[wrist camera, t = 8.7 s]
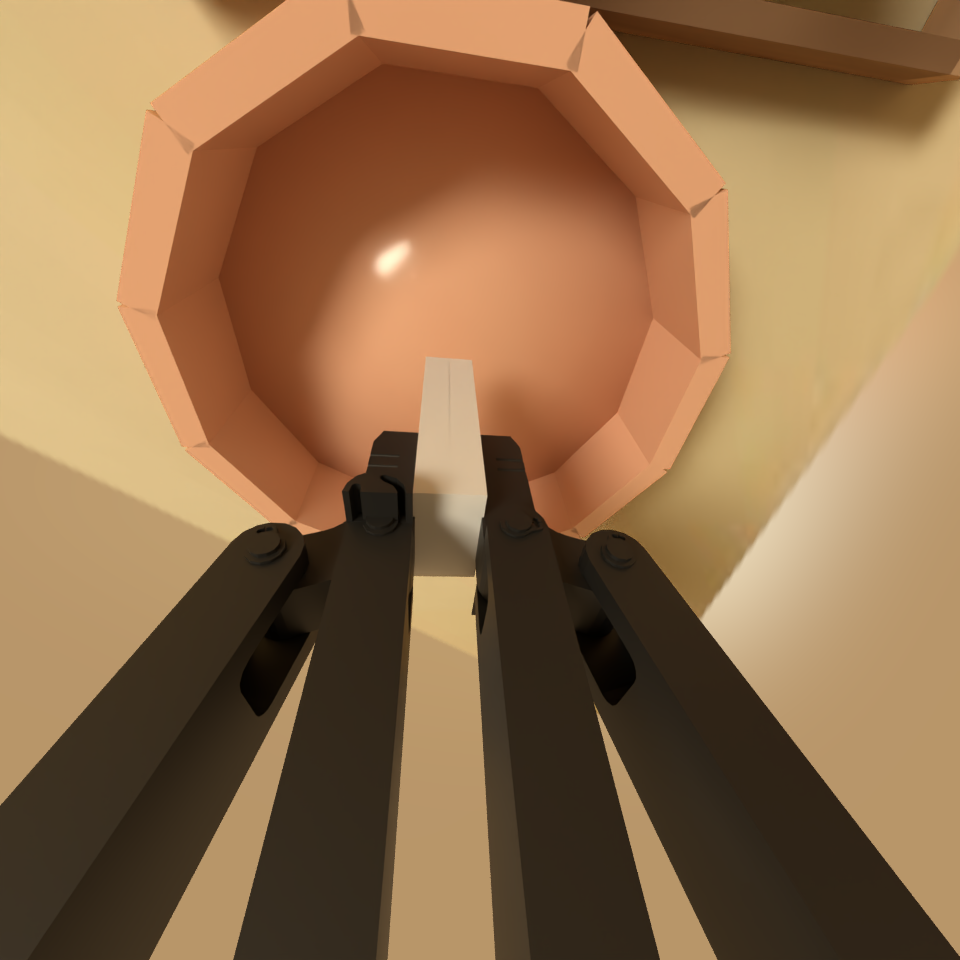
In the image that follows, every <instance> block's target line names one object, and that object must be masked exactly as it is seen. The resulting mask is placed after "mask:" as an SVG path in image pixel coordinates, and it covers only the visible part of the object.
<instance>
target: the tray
mask: <svg viewBox="0 0 960 960" xmlns="http://www.w3.org/2000/svg"><path fill="white" fill-rule="evenodd" d="M559 1H565V2H570V3H575V4H581V5H586V6H590V9H589V14H588V18H589V17H591V16H592V15H593V14H594V13H595V12H597V11H598V13H599V14H600V15H601V17H602V18H603V19H604V21H605V22H606V23H607V25H608V26H609V27H610V29H611V30H612V31H617V32H622V33H628V34H633V35H639V36H644V37H650V38H655V39H661V40H666V41H672V42H677V43H683V44H688V45H694V46H699V47H705V48H710V49H716V50H722V51H727V52H733V53H738V54H744V55H749V56H755V57H760V58H766V59H771V60H777V61H782V62H788V63H793V64H799V65H804V66H810V67H815V68H821V69H826V70H832V71H837V72H843V73H848V74H854V75H859V76H865V77H870V78H876V79H881V80H887V81H892V82H898V83H904V84H909V85H913V84H922V83H931V82H939V81H948V80H957V79H960V0H938V2H937V4H936V5H935V7H934V9H933V11H932V13H931V15H930V16H929V18H928V20H927V22H926V24H925V25H924V27H923V29H922V31H921V32H918V31H913V30H908V29H903V28H898V27H893V26H888V25H883V24H878V23H873V22H868V21H863V20H858V19H853V18H848V17H843V16H838V15H833V14H828V13H823V12H818V11H813V10H808V9H803V8H798V7H793V6H788V5H783V4H778V3H773V2H768V1H763V0H559Z"/></svg>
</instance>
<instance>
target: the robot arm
mask: <svg viewBox="0 0 960 960" xmlns="http://www.w3.org/2000/svg"><path fill="white" fill-rule="evenodd" d="M342 496H343V502H344V509H345V515H346V521H345V522H343V523H342V524H340V525H338V526H336V527H334V528H331V529H327V530H324V531H320V532H315V533H310V534H306V535H302V533H301V532H300V531H299V530H298V529H297V528H296V527H294V526H291V525H289V524H286V523H267V524H262V525H257V526H255V527H253V528H251V529H249V530H246V531H244V532H243V533H241V534H240V535H239V536H238V537H237V538H236V539H234V540H233V541H232V542H231V543H230V544H229V545H228V547H227V548H226V549H225V550H224V551H223V552H222V554H221V555H220V556H219V557H218V558H217V559H216V560H215V561H214V563H213V564H212V565H211V566H210V567H209V568H208V569H207V571H206V572H205V573H204V574H203V575H202V576H201V578H200V579H199V580H198V581H197V582H196V583H195V584H194V585H193V587H192V588H191V589H190V590H189V591H188V592H187V593H186V595H185V596H184V597H183V598H182V599H181V600H180V601H179V603H178V604H177V605H176V606H175V607H174V608H173V609H172V611H171V612H170V613H169V614H168V615H167V616H166V617H165V619H164V620H163V621H162V622H161V623H160V625H158V626H157V628H156V629H155V630H154V631H153V632H152V633H151V634H150V636H149V637H148V638H147V639H146V640H145V641H144V642H143V644H142V645H141V646H140V647H139V648H138V649H137V650H136V652H135V653H134V654H133V655H132V656H131V657H130V658H129V660H128V661H127V662H126V663H125V664H124V665H123V666H122V668H121V669H120V670H119V671H118V672H117V673H116V675H115V676H114V677H113V678H112V679H111V680H110V681H109V683H107V685H106V686H105V687H104V688H103V689H102V690H101V691H100V693H99V694H98V695H97V696H96V697H95V698H94V699H93V701H92V702H91V703H90V704H89V705H88V706H87V708H86V709H85V710H84V711H83V712H82V713H81V714H80V715H79V717H78V718H77V719H76V720H75V721H74V722H73V723H72V725H71V726H70V727H69V728H68V729H67V730H66V731H65V733H64V734H63V735H62V736H61V737H60V738H59V739H58V741H57V742H56V743H55V744H54V745H53V746H52V747H51V749H50V750H49V751H48V752H47V753H46V754H45V755H44V756H43V758H42V759H41V760H40V761H39V762H38V763H37V764H36V766H35V767H34V768H33V769H32V770H31V771H30V773H29V774H28V775H27V776H26V777H25V778H24V779H23V780H22V782H21V783H20V784H19V785H18V786H17V787H16V788H15V790H14V791H13V792H12V793H11V794H10V795H9V796H8V798H7V799H6V800H5V801H4V802H3V803H2V804H1V806H0V960H149V959H150V957H151V955H152V953H153V951H154V949H155V947H156V945H157V943H158V941H159V939H160V938H161V936H162V934H163V932H164V930H165V928H166V926H167V924H168V922H169V920H170V918H171V917H172V915H173V912H174V911H175V909H176V907H177V905H178V903H179V901H180V899H181V898H182V895H183V894H184V892H185V890H186V888H187V886H188V884H189V882H190V880H191V878H192V876H193V874H194V873H195V871H196V869H197V867H198V865H199V863H200V861H201V859H202V857H203V856H204V854H205V852H206V850H207V848H208V846H209V844H210V842H211V840H212V838H213V836H214V834H215V832H216V831H217V829H218V827H219V825H220V823H221V821H222V819H223V817H224V815H225V813H226V812H227V809H228V808H229V806H230V804H231V802H232V800H233V798H234V796H235V794H236V792H237V790H238V789H239V787H240V785H241V783H242V781H243V779H244V777H245V775H246V773H247V771H248V770H249V768H250V766H251V764H252V762H253V760H254V758H255V756H256V754H257V752H258V750H259V748H260V746H261V745H262V743H263V741H264V739H265V737H266V735H267V733H268V731H269V729H270V728H271V725H272V724H273V722H274V720H275V718H276V716H277V714H278V712H279V710H280V708H281V707H282V705H283V703H284V701H285V699H286V697H287V695H288V693H289V691H290V689H291V687H292V686H293V684H294V682H295V680H296V678H297V676H298V674H299V672H300V670H301V668H302V666H303V664H304V662H305V661H306V659H307V657H308V655H309V653H310V651H311V649H312V647H313V645H314V643H315V646H314V650H313V653H312V657H311V661H310V665H309V669H308V673H307V676H306V680H305V684H304V688H303V692H302V696H301V700H300V704H299V708H298V712H297V716H296V719H295V723H294V727H293V731H292V735H291V739H290V743H289V746H288V750H287V754H286V758H285V762H284V766H283V769H282V773H281V777H280V781H279V785H278V789H277V793H276V797H275V800H274V804H273V808H272V812H271V816H270V820H269V824H268V827H267V831H266V835H265V840H264V843H263V847H262V851H261V855H260V859H259V862H258V866H257V870H256V874H255V878H254V882H253V886H252V889H251V893H250V897H249V902H248V905H247V909H246V913H245V917H244V921H243V924H242V928H241V932H240V936H239V940H238V944H237V948H236V951H235V955H234V959H233V960H387V958H388V943H389V929H390V915H391V900H392V886H393V873H394V859H395V858H394V857H395V844H396V829H397V816H398V802H399V787H400V773H401V758H402V745H403V730H404V717H405V703H406V688H407V674H408V660H409V646H410V645H409V644H410V631H411V618H412V603H413V577H414V576H460V577H474V575H475V569H476V578H477V586H476V592H475V597H474V603H473V609H472V615H476V630H477V647H478V663H479V681H480V699H481V716H482V734H483V751H484V768H485V785H486V803H487V820H488V838H489V854H490V872H491V887H492V888H491V889H492V906H493V922H494V941H495V958H496V960H660V958H659V954H658V950H657V946H656V942H655V938H654V935H653V931H652V927H651V923H650V919H649V915H648V911H647V907H646V903H645V900H644V896H643V892H642V888H641V884H640V880H639V877H638V872H637V869H636V865H635V861H634V857H633V853H632V849H631V845H630V842H629V838H628V834H627V830H626V826H625V822H624V819H623V815H622V811H621V807H620V803H619V799H618V795H617V791H616V788H615V783H614V780H613V776H612V772H611V768H610V764H609V761H608V756H607V753H606V749H605V745H604V741H603V737H602V733H601V730H600V725H599V722H598V718H597V714H596V710H595V706H596V708H597V710H598V712H599V714H600V716H601V718H602V720H603V722H604V724H605V726H606V728H607V731H608V733H609V735H610V737H611V739H612V741H613V743H614V745H615V747H616V749H617V751H618V753H619V755H620V757H621V760H622V762H623V764H624V766H625V768H626V770H627V772H628V774H629V776H630V778H631V780H632V783H633V785H634V787H635V789H636V791H637V793H638V795H639V797H640V799H641V801H642V803H643V805H644V808H645V810H646V811H647V814H648V816H649V818H650V820H651V822H652V824H653V826H654V828H655V830H656V833H657V835H658V837H659V839H660V841H661V843H662V845H663V847H664V849H665V851H666V853H667V855H668V857H669V860H670V862H671V864H672V865H673V868H674V870H675V872H676V874H677V876H678V878H679V880H680V882H681V884H682V887H683V889H684V891H685V893H686V895H687V897H688V899H689V901H690V903H691V905H692V907H693V909H694V912H695V914H696V916H697V918H698V919H699V922H700V924H701V926H702V928H703V930H704V932H705V934H706V937H707V939H708V941H709V943H710V945H711V947H712V949H713V951H714V953H715V955H716V957H717V959H718V960H960V956H959V955H958V954H957V953H956V951H955V950H954V949H953V947H952V946H951V945H950V944H949V942H948V941H947V940H946V938H945V937H944V936H943V934H942V933H941V932H940V931H939V929H938V928H937V927H936V926H935V924H934V923H933V922H932V920H931V919H930V918H929V916H928V915H927V914H926V913H925V911H924V910H923V909H922V907H921V906H920V905H919V903H918V902H917V901H916V900H915V898H914V897H913V896H912V894H911V893H910V892H909V891H908V889H907V888H906V887H905V885H904V884H903V883H902V881H901V880H900V879H899V878H898V876H897V875H896V874H895V872H894V871H893V870H892V868H891V867H890V866H889V865H888V863H887V862H886V861H885V859H884V858H883V857H882V856H881V854H880V853H879V852H878V850H877V849H876V848H875V846H874V845H873V844H872V843H871V841H870V840H869V839H868V837H867V836H866V835H865V833H864V832H863V831H862V830H861V828H860V827H859V826H858V824H857V823H856V822H855V820H854V819H853V818H852V817H851V815H850V814H849V813H848V811H847V810H846V809H845V808H844V806H843V805H842V804H841V802H840V801H839V800H838V799H837V797H836V796H835V795H834V793H833V792H832V791H831V789H830V788H829V787H828V786H827V784H826V783H825V782H824V780H823V779H822V778H821V776H820V775H819V774H818V773H817V771H816V770H815V769H814V767H813V766H812V765H811V763H810V762H809V761H808V760H807V758H806V757H805V756H804V755H803V753H802V752H801V751H800V749H799V748H798V747H797V745H796V744H795V743H794V742H793V740H792V739H791V738H790V736H789V735H788V734H787V732H786V731H785V730H784V729H783V727H782V726H781V725H780V723H779V722H778V721H777V719H776V718H775V717H774V716H773V714H772V713H771V712H770V710H769V709H768V708H767V706H766V705H765V704H764V703H763V701H762V700H761V699H760V698H759V696H758V695H757V694H756V692H755V691H754V690H753V688H752V687H751V686H750V684H749V683H748V682H747V681H746V679H745V678H744V677H743V676H742V674H741V673H740V672H739V670H738V669H737V668H736V666H735V665H734V664H733V663H732V661H731V660H730V659H729V657H728V656H727V655H726V654H725V652H724V651H723V650H722V648H721V647H720V646H719V644H718V643H717V642H716V640H715V639H714V638H713V637H712V635H711V634H710V633H709V631H708V630H707V629H706V628H705V626H704V625H703V624H702V622H701V621H700V620H699V618H698V617H697V616H696V615H695V613H694V612H693V611H692V609H691V608H690V607H689V605H688V604H687V603H686V602H685V600H684V599H683V598H682V596H681V595H680V594H679V593H678V591H677V590H676V589H675V587H674V586H673V585H672V583H671V582H670V581H669V580H668V578H667V577H666V576H665V574H664V573H663V572H662V570H661V569H660V568H659V567H658V565H657V564H656V563H655V561H654V560H653V559H652V558H651V556H650V555H649V554H648V552H647V551H646V550H645V548H643V547H642V546H641V545H640V544H639V543H638V542H637V541H636V540H635V539H633V538H631V537H630V536H628V535H626V534H624V533H621V532H617V531H614V530H600V531H598V532H595V533H592V534H591V535H590V537H589V538H588V539H587V540H586V541H584V540H581V539H577V538H574V537H570V536H567V535H564V534H561V533H558V532H556V531H554V530H553V529H551V528H549V527H548V525H547V524H546V522H545V520H544V518H543V517H542V516H541V515H540V514H539V513H537V512H536V511H535V508H534V504H533V499H532V495H531V491H530V487H529V483H528V478H527V474H526V472H525V466H524V462H523V457H522V453H521V449H520V447H519V446H518V444H517V443H516V442H515V441H514V440H513V439H512V438H511V436H495V435H480V427H479V418H478V409H477V401H476V392H475V383H474V374H473V366H472V360H465V359H452V358H439V357H426V361H425V371H424V381H423V392H422V402H421V413H420V423H419V433H417V432H398V431H383V432H382V433H381V434H380V435H379V436H378V437H377V438H376V439H375V440H374V441H373V445H372V449H371V453H370V458H369V462H368V467H367V470H366V473H363V474H360V475H357V476H355V477H354V478H353V479H351V480H350V481H348V482H347V483H346V485H345V487H344V488H343V490H342ZM593 701H594V702H593ZM594 704H595V706H594Z"/></svg>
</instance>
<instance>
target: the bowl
mask: <svg viewBox="0 0 960 960" xmlns="http://www.w3.org/2000/svg"><path fill="white" fill-rule="evenodd" d="M589 9H590V6H586V5H581V4H575V3H570V2H565V1H559V0H286V1H284V2H283V3H282V4H281V5H279V6H278V7H277V8H275V9H274V10H273V11H271V12H270V13H269V14H267V15H266V16H265V17H263V18H262V19H261V20H259V21H258V22H257V23H255V24H254V25H253V26H251V27H250V28H249V29H247V30H246V31H245V32H243V33H242V34H241V35H239V36H238V37H237V38H236V39H234V40H233V41H232V42H230V43H229V44H228V45H226V46H225V47H224V48H222V49H221V50H220V51H218V52H217V53H216V54H214V55H213V56H212V57H210V58H209V59H208V60H206V61H205V62H204V63H202V64H201V65H200V66H198V67H197V68H196V69H194V70H193V71H192V72H191V73H189V74H188V75H187V76H185V77H184V78H183V79H181V80H180V81H179V82H177V83H176V84H175V85H173V86H172V87H171V88H169V89H168V90H167V91H165V92H164V93H163V94H161V95H160V96H159V97H157V98H156V99H155V100H153V101H152V102H151V103H150V104H151V105H152V106H153V108H154V109H155V111H153V110H146V115H145V122H144V128H143V134H142V141H141V147H140V154H139V160H138V166H137V173H136V179H135V186H134V192H133V198H132V205H131V211H130V218H129V224H128V230H127V237H126V243H125V250H124V256H123V262H122V269H121V275H120V282H119V288H118V294H117V301H118V302H120V303H122V305H120V306H118V309H119V311H120V313H121V315H122V317H123V320H124V322H125V324H126V326H127V328H128V330H129V333H130V335H131V337H132V339H133V341H134V343H135V346H136V348H137V350H138V352H139V354H140V357H141V359H142V361H143V363H144V365H145V367H146V370H147V372H148V374H149V376H150V378H151V380H152V383H153V385H154V387H155V389H156V391H157V393H158V396H159V398H160V400H161V402H162V404H163V406H164V409H165V411H166V413H167V415H168V417H169V419H170V422H171V424H172V426H173V428H174V430H175V433H176V435H177V437H178V439H179V441H180V443H181V446H182V447H187V449H186V450H185V451H186V452H188V453H189V454H190V455H191V456H192V457H193V458H195V459H196V460H197V461H198V462H199V463H201V464H202V465H203V466H204V467H205V468H207V469H208V470H209V471H210V472H211V473H213V474H214V475H215V476H216V477H217V478H218V479H220V480H221V481H222V482H223V483H224V484H226V485H227V486H228V487H229V488H230V489H232V490H233V491H234V492H235V493H236V494H238V495H239V496H240V497H241V498H242V499H243V500H245V501H246V502H247V503H248V504H249V505H251V506H252V507H253V508H254V509H255V510H257V511H258V512H259V513H260V514H261V515H262V516H264V517H265V518H266V519H267V520H268V521H270V522H271V523H286V524H289V525H291V526H294V527H296V528H297V529H298V530H299V531H300V532H301V533H302V535H306V534H310V533H315V532H320V531H324V530H327V529H331V528H334V527H336V526H338V525H340V524H342V523H343V522H345V521H346V515H345V509H344V502H343V496H342V490H343V488H344V487H345V485H346V483H347V482H348V481H350V480H351V479H353V478H354V477H355V476H357V475H360V474H363V473H366V470H367V467H368V462H369V458H370V453H371V449H372V445H373V441H374V440H375V439H376V438H377V437H378V436H379V435H380V434H381V433H382V432H383V431H398V432H417V433H419V423H420V413H421V402H422V392H423V381H424V371H425V361H426V357H439V358H452V359H465V360H472V366H473V374H474V383H475V392H476V401H477V409H478V418H479V427H480V435H495V436H511V438H512V439H513V440H514V441H515V442H516V443H517V444H518V446H519V447H520V449H521V453H522V457H523V462H524V466H525V472H526V474H527V478H528V483H529V487H530V491H531V495H532V499H533V504H534V508H535V511H536V512H537V513H539V514H540V515H541V516H542V517H543V518H544V520H545V522H546V524H547V525H548V527H549V528H551V529H553V530H554V531H556V532H558V533H561V534H564V535H567V536H570V537H574V538H577V539H580V536H582V537H585V536H587V535H588V534H589V533H591V532H592V531H593V530H594V529H596V528H597V527H598V526H599V525H601V524H602V523H603V522H605V521H606V520H607V519H608V518H610V517H611V516H612V515H613V514H615V513H616V512H617V511H619V510H620V509H621V508H622V507H624V506H625V505H626V504H627V503H629V502H630V501H631V500H633V499H634V498H635V497H636V496H638V495H639V494H640V493H641V492H643V491H644V490H645V489H647V488H648V487H649V486H650V485H652V484H653V483H654V482H655V481H657V480H658V479H659V478H661V477H662V476H663V475H664V474H666V473H667V471H666V470H665V469H670V468H671V466H672V464H673V462H674V461H675V459H676V457H677V455H678V453H679V451H680V449H681V447H682V446H683V444H684V442H685V440H686V438H687V436H688V434H689V432H690V431H691V429H692V427H693V425H694V423H695V421H696V419H697V417H698V416H699V414H700V412H701V410H702V408H703V406H704V404H705V402H706V401H707V399H708V397H709V395H710V393H711V391H712V389H713V387H714V385H715V384H716V382H717V380H718V378H719V376H720V374H721V372H722V370H723V369H724V367H725V365H726V363H727V361H728V359H729V357H728V356H727V355H726V354H729V353H731V343H730V289H729V235H728V189H722V187H723V186H724V184H725V181H724V180H723V179H722V177H721V176H720V175H719V173H718V172H717V171H716V169H715V168H714V167H713V165H712V164H711V163H710V161H709V160H708V159H707V157H706V156H705V155H704V153H703V152H702V151H701V149H700V148H699V147H698V145H697V144H696V143H695V141H694V140H693V139H692V137H691V136H690V135H689V133H688V132H687V131H686V129H685V128H684V127H683V125H682V124H681V123H680V121H679V120H678V119H677V117H676V116H675V115H674V113H673V112H672V110H671V109H670V108H669V106H668V105H667V104H666V102H665V101H664V100H663V98H662V97H661V96H660V94H659V93H658V92H657V90H656V89H655V88H654V86H653V85H652V84H651V82H650V81H649V80H648V78H647V77H646V76H645V74H644V73H643V72H642V70H641V69H640V68H639V66H638V65H637V64H636V62H635V61H634V60H633V58H632V57H631V56H630V54H629V53H628V52H627V50H626V49H625V48H624V46H623V45H622V44H621V42H620V41H619V40H618V38H617V37H616V35H615V34H614V33H613V31H612V30H611V29H610V27H609V26H608V25H607V23H606V22H605V21H604V19H603V18H602V17H601V15H600V14H599V13H598V11H597V12H595V13H594V14H593V15H592V16H591V17H589V18H588V14H589ZM579 535H580V536H579ZM475 570H476V569H475Z"/></svg>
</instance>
